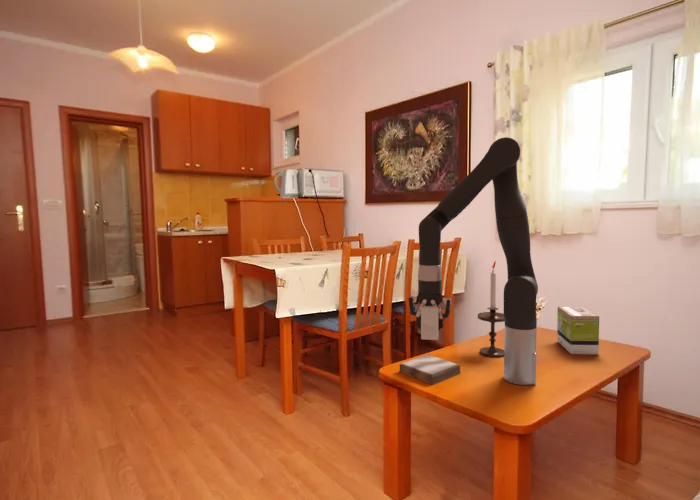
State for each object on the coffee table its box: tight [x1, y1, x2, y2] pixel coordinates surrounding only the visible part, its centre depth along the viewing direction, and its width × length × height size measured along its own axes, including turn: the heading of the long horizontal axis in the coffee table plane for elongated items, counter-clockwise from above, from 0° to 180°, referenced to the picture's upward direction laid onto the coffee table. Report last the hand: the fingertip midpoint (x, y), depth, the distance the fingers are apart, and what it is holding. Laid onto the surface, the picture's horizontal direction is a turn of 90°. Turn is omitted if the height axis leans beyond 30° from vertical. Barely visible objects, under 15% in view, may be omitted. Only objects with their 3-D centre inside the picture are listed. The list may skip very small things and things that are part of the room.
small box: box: [420, 305, 440, 341], centre depth 138 cm, size 8×6×10 cm
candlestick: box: [477, 260, 505, 358], centre depth 155 cm, size 11×11×35 cm
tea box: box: [556, 306, 600, 355], centre depth 160 cm, size 15×10×15 cm, turn 172°
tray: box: [399, 354, 461, 386], centre depth 139 cm, size 14×14×3 cm
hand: (429, 328), depth 138 cm, fingers closed on small box, 6 cm apart
